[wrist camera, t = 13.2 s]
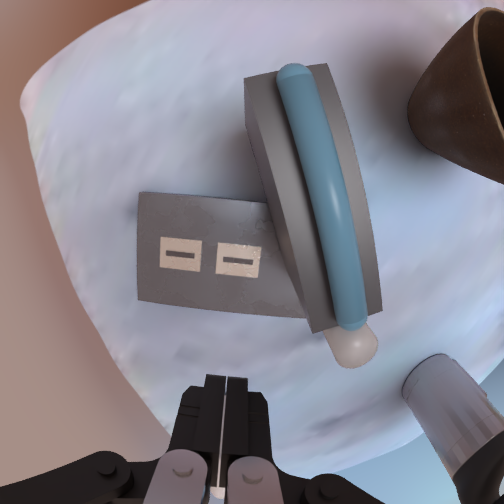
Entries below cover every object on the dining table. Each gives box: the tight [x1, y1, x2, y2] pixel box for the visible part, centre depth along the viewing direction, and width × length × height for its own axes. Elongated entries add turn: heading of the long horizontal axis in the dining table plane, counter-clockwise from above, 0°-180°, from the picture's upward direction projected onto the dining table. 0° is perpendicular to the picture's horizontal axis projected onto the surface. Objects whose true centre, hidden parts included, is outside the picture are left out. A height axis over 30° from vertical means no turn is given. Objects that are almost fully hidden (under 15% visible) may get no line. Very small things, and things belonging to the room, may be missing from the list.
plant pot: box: [408, 7, 504, 184], centre depth 17 cm, size 15×15×16 cm
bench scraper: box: [244, 63, 383, 368], centre depth 18 cm, size 15×4×14 cm, turn 16°
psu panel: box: [137, 192, 306, 318], centre depth 27 cm, size 18×11×2 cm, turn 84°
